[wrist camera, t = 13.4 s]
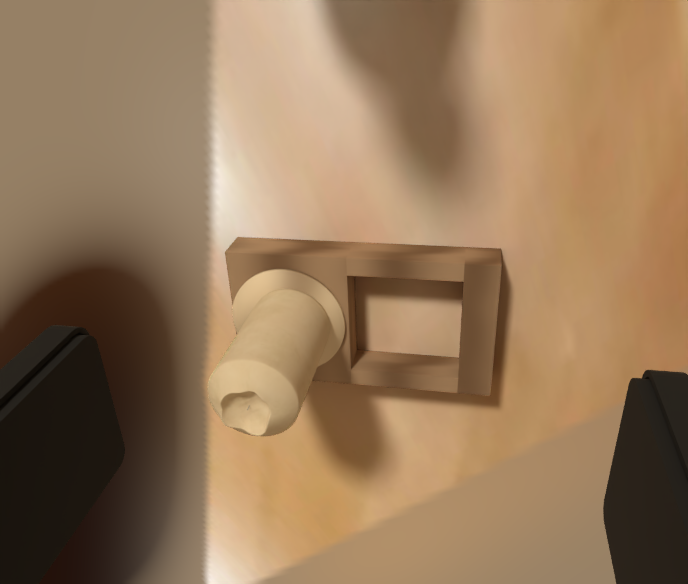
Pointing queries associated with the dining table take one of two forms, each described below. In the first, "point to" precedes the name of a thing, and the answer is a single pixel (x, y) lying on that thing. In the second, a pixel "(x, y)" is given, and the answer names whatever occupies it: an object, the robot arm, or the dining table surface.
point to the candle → (270, 364)
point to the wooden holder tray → (339, 303)
